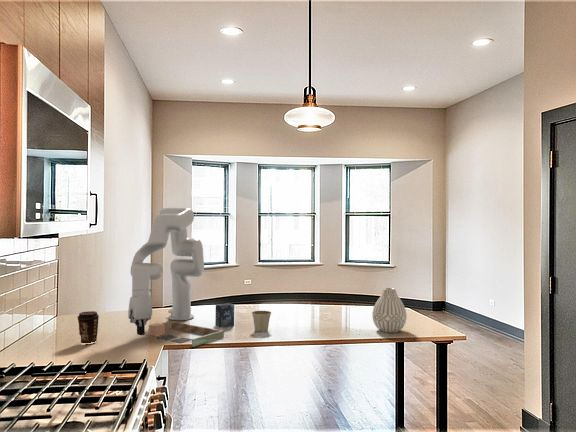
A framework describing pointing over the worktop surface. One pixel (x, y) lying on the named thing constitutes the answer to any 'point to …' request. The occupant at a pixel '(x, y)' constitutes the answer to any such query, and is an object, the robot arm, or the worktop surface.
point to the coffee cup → (88, 326)
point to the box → (224, 315)
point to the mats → (175, 339)
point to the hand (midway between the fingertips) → (140, 334)
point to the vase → (389, 312)
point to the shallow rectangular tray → (208, 332)
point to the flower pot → (261, 320)
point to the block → (156, 329)
